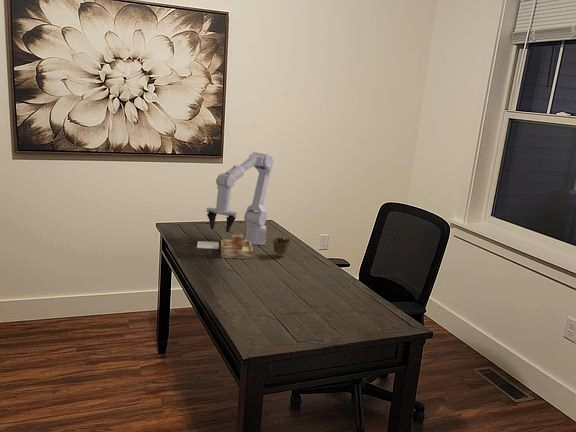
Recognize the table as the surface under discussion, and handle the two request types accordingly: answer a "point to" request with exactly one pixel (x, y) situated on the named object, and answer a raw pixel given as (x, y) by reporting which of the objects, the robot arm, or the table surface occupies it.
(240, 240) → the terracotta block
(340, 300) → the table surface
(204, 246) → the grey mat
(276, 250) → the cup
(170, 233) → the table surface
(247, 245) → the organiser box
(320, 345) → the table surface
